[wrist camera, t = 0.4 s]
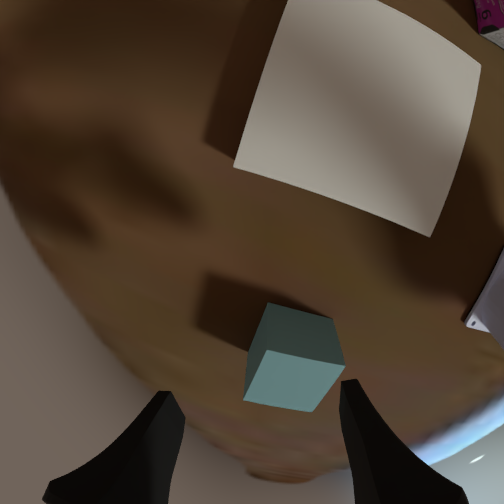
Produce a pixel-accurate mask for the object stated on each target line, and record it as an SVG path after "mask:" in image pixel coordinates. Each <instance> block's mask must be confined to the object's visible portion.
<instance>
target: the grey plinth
mask: <svg viewBox="0 0 504 504" xmlns="http://www.w3.org/2000/svg"><path fill="white" fill-rule="evenodd" d="M480 70H481V65H480V64H479V63H478V62H476V61H475V60H474V59H473V58H471V57H470V56H469V55H467V54H466V53H465V52H463V51H462V50H461V49H459V48H458V47H457V46H455V45H454V44H452V43H451V42H449V41H448V40H446V39H445V38H443V37H442V36H440V35H439V34H437V33H436V32H434V31H433V30H431V29H429V28H428V27H426V26H424V25H423V24H421V23H419V22H418V21H416V20H414V19H412V18H410V17H409V16H407V15H405V14H403V13H401V12H399V11H397V10H395V9H393V8H391V7H389V6H387V5H385V4H383V3H381V2H379V1H377V0H288V2H287V4H286V7H285V10H284V12H283V15H282V18H281V21H280V23H279V26H278V29H277V32H276V35H275V37H274V40H273V43H272V46H271V49H270V52H269V55H268V58H267V61H266V64H265V67H264V70H263V73H262V76H261V79H260V82H259V85H258V88H257V91H256V94H255V97H254V100H253V103H252V107H251V110H250V113H249V116H248V119H247V123H246V126H245V129H244V132H243V136H242V139H241V142H240V146H239V149H238V152H237V156H236V159H235V163H234V166H233V167H235V168H239V169H242V170H246V171H249V172H252V173H256V174H259V175H262V176H266V177H269V178H272V179H275V180H279V181H282V182H285V183H288V184H291V185H294V186H297V187H300V188H303V189H306V190H309V191H312V192H315V193H318V194H321V195H324V196H326V197H329V198H332V199H335V200H338V201H340V202H343V203H346V204H349V205H351V206H354V207H357V208H359V209H362V210H364V211H367V212H370V213H372V214H375V215H377V216H380V217H382V218H385V219H387V220H390V221H392V222H395V223H397V224H399V225H402V226H404V227H407V228H409V229H411V230H414V231H416V232H418V233H421V234H423V235H425V236H427V237H431V234H432V232H433V230H434V228H435V225H436V223H437V220H438V218H439V216H440V213H441V211H442V208H443V206H444V203H445V201H446V198H447V195H448V193H449V190H450V187H451V184H452V181H453V179H454V176H455V173H456V170H457V167H458V163H459V160H460V157H461V154H462V151H463V147H464V144H465V140H466V136H467V133H468V129H469V125H470V121H471V117H472V112H473V108H474V103H475V99H476V94H477V88H478V83H479V77H480Z"/></svg>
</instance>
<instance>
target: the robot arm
mask: <svg viewBox="0 0 504 504" xmlns="http://www.w3.org/2000/svg"><path fill="white" fill-rule="evenodd" d="M465 325H466V326H467V327H469V328H473V329H477V330H481V331H485V332H489V333H491V334H492V335H493V337H494V338H495V339H496V340H497V342H498V343H499V344H500V345H501V347H502V348H503V349H504V249H503V251H502V253H501V255H500V257H499V259H498V262H497V264H496V266H495V268H494V270H493V272H492V274H491V276H490V278H489V280H488V282H487V283H486V285H485V287H484V289H483V291H482V293H481V295H480V296H479V298H478V300H477V302H476V303H475V305H474V307H473V308H472V310H471V312H470V313H469V315H468V317H467V318H466V320H465ZM339 412H340V420H341V428H342V433H343V437H344V442H345V446H346V450H347V454H348V458H349V463H350V467H351V471H352V477H353V485H354V496H355V504H469V502H468V499H467V497H466V494H465V492H464V490H463V488H462V487H460V486H459V485H457V484H455V483H453V482H451V481H450V480H448V479H447V478H445V477H443V476H442V475H441V474H439V473H438V472H436V471H435V470H433V469H432V468H431V467H430V466H428V465H427V464H426V463H425V462H423V461H422V460H421V459H420V458H418V457H417V456H416V455H415V454H414V453H413V452H412V451H411V450H410V449H409V448H408V447H407V446H406V445H405V444H404V443H403V442H402V441H401V440H400V439H399V438H398V437H397V436H396V435H395V434H394V432H393V431H392V430H391V429H390V428H389V426H388V425H387V424H386V423H385V421H384V420H383V419H382V417H381V416H380V415H379V413H378V412H377V410H376V409H375V408H374V406H373V405H372V403H371V402H370V400H369V398H368V397H367V395H366V394H365V392H364V390H363V388H362V387H361V385H360V383H359V381H358V380H357V379H352V380H346V381H341V392H340V405H339ZM184 425H185V416H184V414H183V412H182V411H181V409H180V407H179V405H178V403H177V402H176V400H175V398H174V396H173V394H172V392H171V391H158V392H157V393H156V395H155V396H154V397H153V398H152V399H151V401H150V402H149V403H148V404H147V405H146V407H145V408H144V409H143V410H142V411H141V413H140V414H139V415H138V416H137V417H136V419H135V420H134V421H133V422H132V423H131V424H130V425H129V427H128V428H127V429H126V430H125V431H124V432H123V433H122V434H121V435H120V436H119V437H118V438H117V439H116V440H115V441H114V442H113V443H112V444H111V445H109V446H108V447H107V448H106V449H105V450H104V451H102V452H101V453H100V454H99V455H97V456H96V457H94V458H93V459H92V460H90V461H89V462H87V463H86V464H84V465H83V466H81V467H79V468H78V469H76V470H74V471H72V472H70V473H68V474H66V475H64V476H61V477H59V478H57V479H54V480H52V481H50V482H49V485H48V487H47V489H46V491H45V494H44V496H43V498H42V500H43V501H44V502H45V503H46V504H168V498H169V491H170V483H171V478H172V474H173V471H174V467H175V464H176V460H177V456H178V453H179V449H180V446H181V442H182V438H183V433H184Z"/></svg>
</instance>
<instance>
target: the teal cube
mask: <svg viewBox="0 0 504 504" xmlns="http://www.w3.org/2000/svg"><path fill="white" fill-rule="evenodd" d="M345 366H346V365H345V362H344V358H343V354H342V350H341V347H340V343H339V339H338V336H337V332H336V329H335V325H334V322H333V319H330V318H326V317H322V316H318V315H314V314H311V313H307V312H303V311H299V310H295V309H291V308H287V307H284V306H280V305H276V304H273V303H269V302H268V303H267V306H266V309H265V311H264V314H263V316H262V319H261V321H260V324H259V326H258V329H257V331H256V334H255V336H254V339H253V341H252V344H251V346H250V349H249V351H248V357H247V367H246V377H245V386H244V396H243V400H246V401H250V402H255V403H260V404H265V405H270V406H276V407H282V408H287V409H294V410H300V411H307V412H312V411H313V410H314V409H315V408H316V406H317V405H318V404H319V402H320V401H321V400H322V398H323V397H324V396H325V394H326V393H327V392H328V390H329V389H330V388H331V386H332V385H333V383H334V382H335V381H336V379H337V378H338V376H339V375H340V374H341V372H342V371H343V369H344V368H345Z"/></svg>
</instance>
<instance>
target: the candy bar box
mask: <svg viewBox="0 0 504 504" xmlns="http://www.w3.org/2000/svg"><path fill="white" fill-rule="evenodd" d="M473 2H474V6H475V12H476V18H477V24H478V31H479V35H481V36H482V37H484V38H486V39H487V40H489V41H491V42H493V43H494V44H496V45H498V46H499V47H501V48H502V49H504V0H473Z"/></svg>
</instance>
